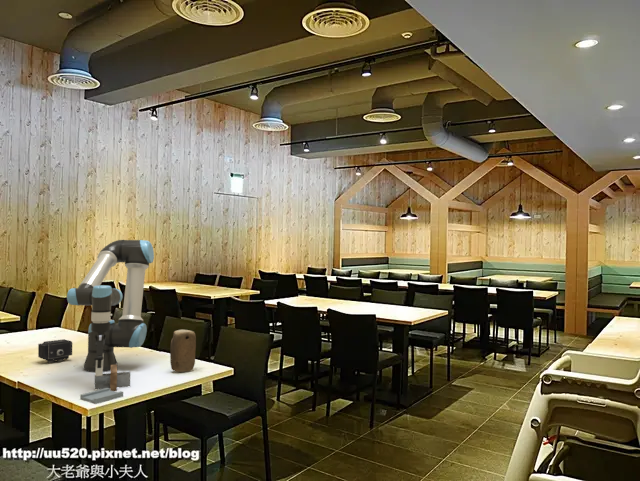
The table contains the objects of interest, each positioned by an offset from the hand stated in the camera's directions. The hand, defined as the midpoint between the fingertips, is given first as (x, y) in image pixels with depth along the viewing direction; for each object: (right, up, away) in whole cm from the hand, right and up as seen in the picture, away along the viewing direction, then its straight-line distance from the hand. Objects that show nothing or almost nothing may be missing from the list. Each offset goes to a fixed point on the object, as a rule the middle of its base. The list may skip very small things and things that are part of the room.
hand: (99, 372), depth 214 cm
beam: (+5, -7, +2) cm, 9 cm away
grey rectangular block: (+5, -4, +2) cm, 7 cm away
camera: (-43, -7, +46) cm, 64 cm away
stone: (+27, -8, +31) cm, 42 cm away
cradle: (+7, -7, -14) cm, 17 cm away
